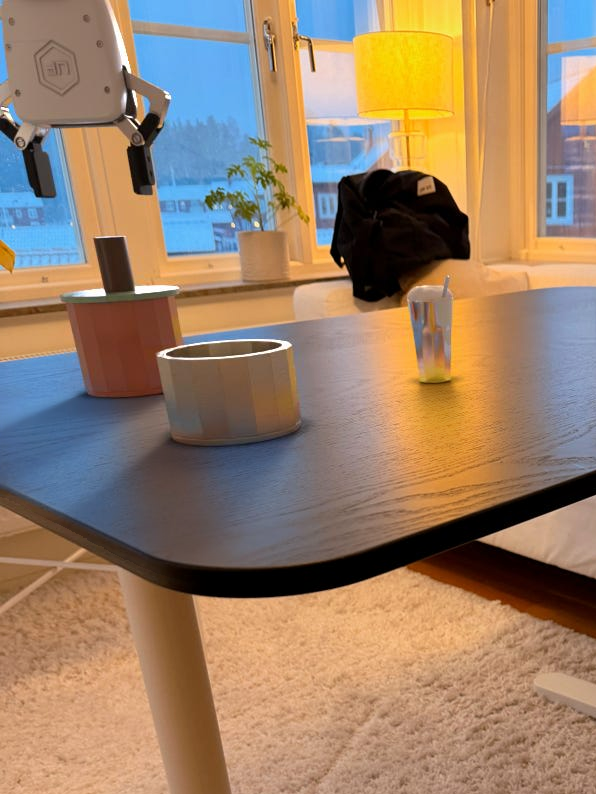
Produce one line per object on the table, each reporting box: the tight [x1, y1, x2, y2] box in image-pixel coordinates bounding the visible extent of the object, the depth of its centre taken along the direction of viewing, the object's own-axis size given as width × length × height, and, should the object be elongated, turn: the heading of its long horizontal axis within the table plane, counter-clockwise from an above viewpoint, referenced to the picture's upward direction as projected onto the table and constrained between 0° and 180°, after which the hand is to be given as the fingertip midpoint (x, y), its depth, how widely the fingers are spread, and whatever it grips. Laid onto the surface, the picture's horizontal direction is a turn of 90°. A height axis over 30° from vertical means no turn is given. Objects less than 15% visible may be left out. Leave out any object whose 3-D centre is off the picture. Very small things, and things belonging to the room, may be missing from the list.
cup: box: [65, 295, 185, 398], centre depth 92 cm, size 10×10×9 cm
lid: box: [59, 235, 180, 304], centre depth 89 cm, size 11×11×6 cm
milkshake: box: [406, 275, 454, 384], centre depth 88 cm, size 4×5×10 cm
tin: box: [156, 339, 302, 447], centre depth 72 cm, size 10×10×6 cm
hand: (95, 196), depth 85 cm, fingers open, 9 cm apart
